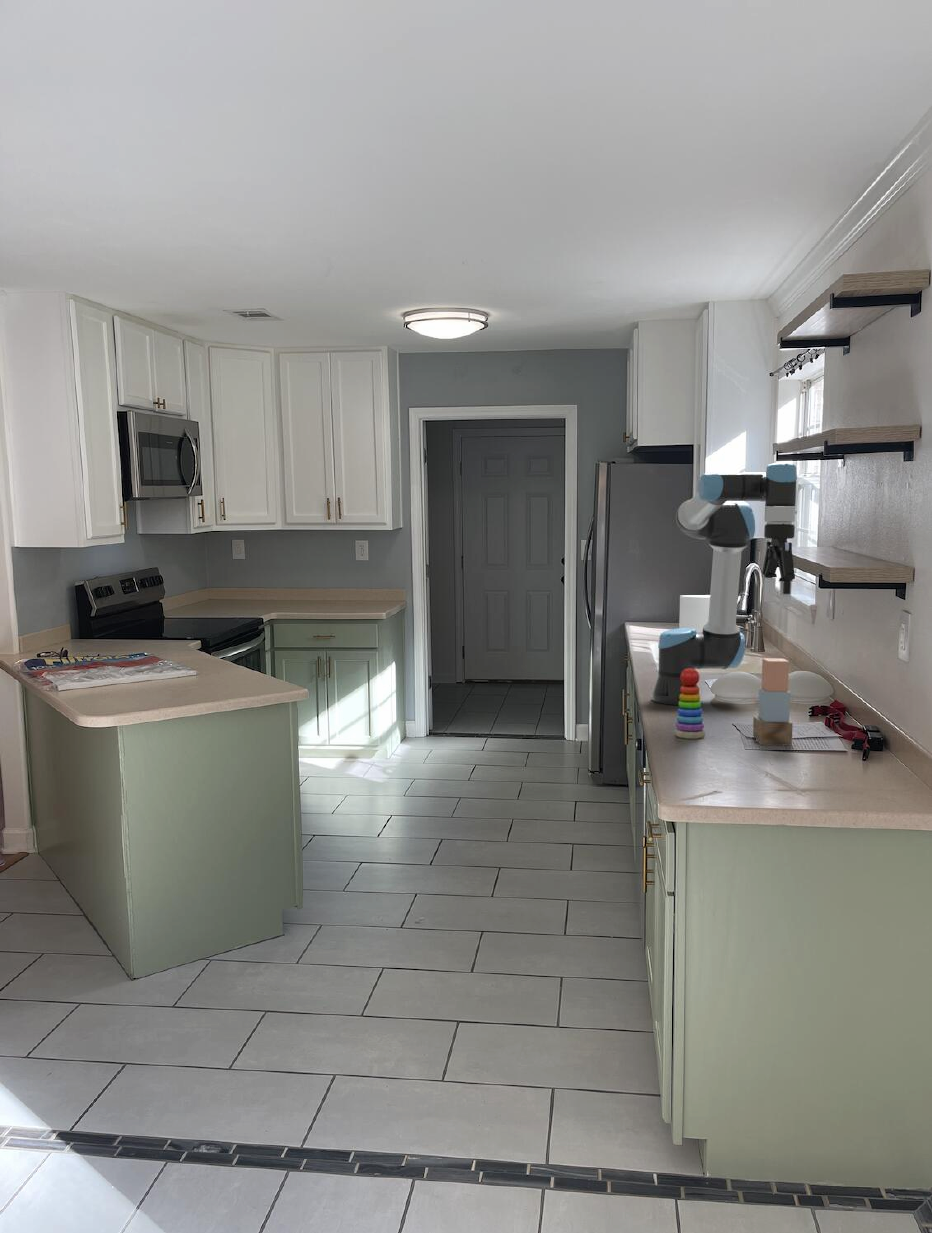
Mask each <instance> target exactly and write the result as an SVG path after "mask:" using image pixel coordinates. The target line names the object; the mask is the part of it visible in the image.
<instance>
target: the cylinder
mask: <svg viewBox="0 0 932 1233" xmlns="http://www.w3.org/2000/svg"><path fill="white" fill-rule="evenodd" d="M709 604H710V594H705V595H703V594H701V595H699V594H698V595H695V594H693V595H689V594H687V595H682V594H681V595H679V620H678V622H679V625H678V626H679V628H694V629H696V631H697V633H702V632H703V626H704V625H705V624H706V623H707V622H708V617H709ZM679 628H678V629H679Z"/></svg>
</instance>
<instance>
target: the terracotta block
mask: <svg viewBox="0 0 932 1233" xmlns="http://www.w3.org/2000/svg"><path fill="white" fill-rule="evenodd" d="M789 671H790V661H789V660H787V659H785V658H772V657H771V658H767V657H765V658H764V657H763V658H762V663H761V683H760V684H761V685H760V686H761V687H760V688H763V689H764V690H766V691H785V692H788V691H789V677H790V673H789Z"/></svg>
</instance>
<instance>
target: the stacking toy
mask: <svg viewBox="0 0 932 1233" xmlns="http://www.w3.org/2000/svg"><path fill="white" fill-rule="evenodd" d="M680 678H681V682H682V683H683V684H684V686H682V687H681V689H680V690H681V692H682V694H680V696H679V698H680V701H679V705H678V709H677V713H678V714H677V716H676V720H677V722H676V723H675V727H676V729H675V730H674V734H675V735H676V737H678V738H682V739H688V740H691V739H692V740H696V739H700V738H703V737H704V736H705V735H706V732H705V730H704V728H705V724H704V723H703V721H704V716H703V715H702V714H703V709H702V708H701V706H702V702H701V694H700V695H699V694H698V692H699V693H700V687H699V686H698V683H699V681H700V673H699V671H697V670H696V669H692V668H687V669H685V670H683V671H682V673H681V676H680ZM696 684H697V686H695V685H696ZM699 699H700V701H698V700H699Z"/></svg>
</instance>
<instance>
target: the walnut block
mask: <svg viewBox="0 0 932 1233" xmlns="http://www.w3.org/2000/svg"><path fill="white" fill-rule="evenodd" d="M752 724H753V725H752V727H753V729H752V737H753V736H754V737H755V738H756V739H757V740H758V741H759V742H760V743H759V742H758V743H759V744H760V745H761V746H767V745H770V746H784V745H783V744H787V745H786V746H789V745H788V744H792V745H793V727H794V725H793V722H792V721H790V720H789V722H764V721H763V720H761V719H760V718H759V717H758V716H753V723H752Z"/></svg>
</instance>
